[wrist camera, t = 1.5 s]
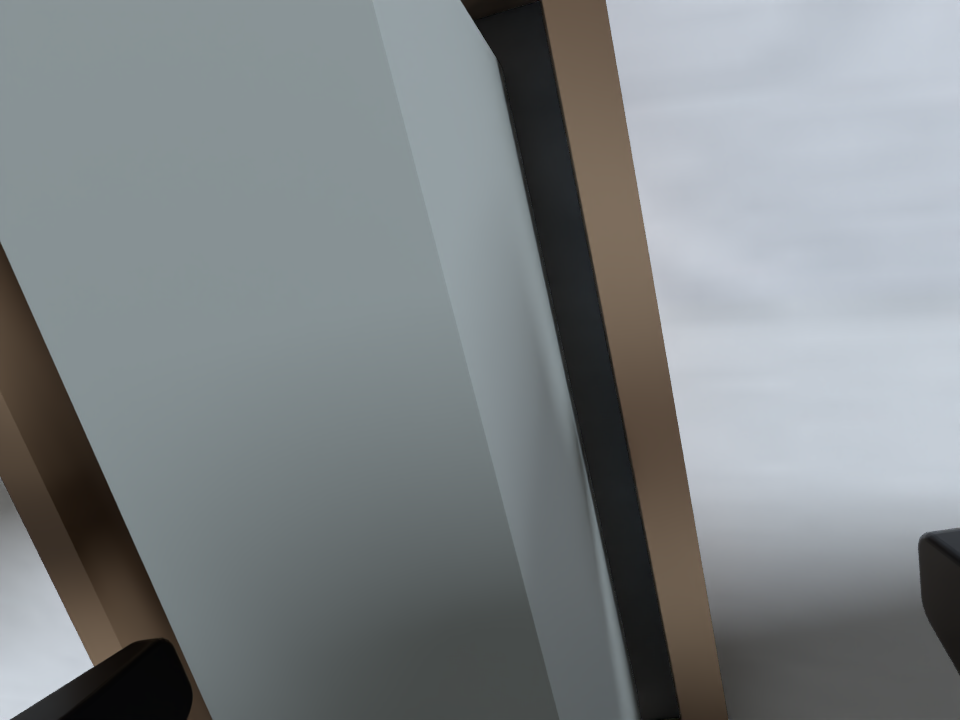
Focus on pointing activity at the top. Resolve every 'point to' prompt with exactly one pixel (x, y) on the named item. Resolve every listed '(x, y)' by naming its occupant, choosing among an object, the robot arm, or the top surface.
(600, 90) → the brown wooden tray
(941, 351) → the top surface
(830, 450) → the top surface
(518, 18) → the top surface
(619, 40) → the top surface
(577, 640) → the gray rectangular panel
